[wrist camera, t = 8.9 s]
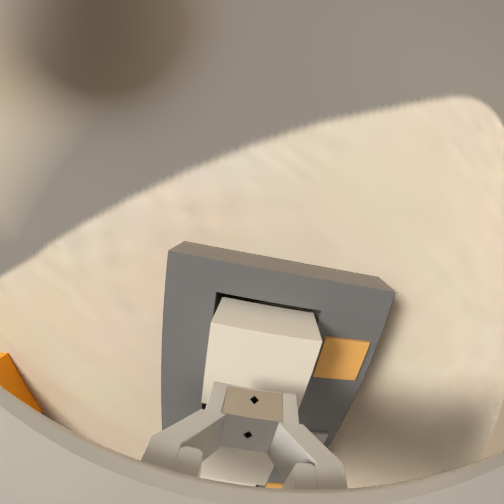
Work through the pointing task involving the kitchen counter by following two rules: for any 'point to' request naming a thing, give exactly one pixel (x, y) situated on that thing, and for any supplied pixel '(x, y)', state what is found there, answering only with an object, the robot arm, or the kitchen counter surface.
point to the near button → (261, 348)
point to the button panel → (277, 291)
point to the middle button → (238, 466)
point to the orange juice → (15, 382)
